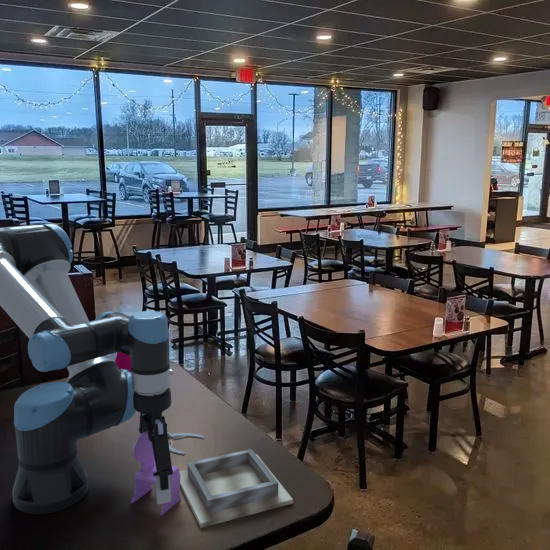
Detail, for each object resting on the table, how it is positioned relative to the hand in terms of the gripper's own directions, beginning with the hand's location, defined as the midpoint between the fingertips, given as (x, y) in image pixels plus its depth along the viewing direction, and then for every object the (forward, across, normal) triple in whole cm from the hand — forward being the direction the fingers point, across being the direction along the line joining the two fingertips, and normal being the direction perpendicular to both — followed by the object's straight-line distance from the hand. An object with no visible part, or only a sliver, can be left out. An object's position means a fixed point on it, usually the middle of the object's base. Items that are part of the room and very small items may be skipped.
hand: (156, 484), depth 118 cm
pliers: (+5, +25, -9) cm, 27 cm away
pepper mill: (+4, +69, -5) cm, 69 cm away
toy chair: (+4, 0, 0) cm, 4 cm away
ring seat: (+4, -2, -16) cm, 17 cm away
